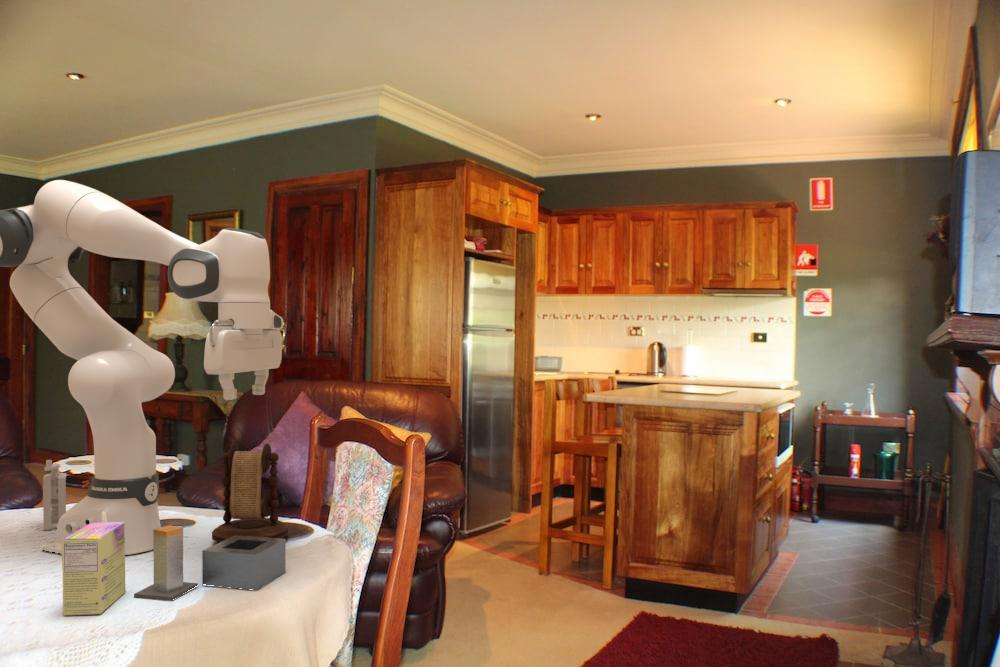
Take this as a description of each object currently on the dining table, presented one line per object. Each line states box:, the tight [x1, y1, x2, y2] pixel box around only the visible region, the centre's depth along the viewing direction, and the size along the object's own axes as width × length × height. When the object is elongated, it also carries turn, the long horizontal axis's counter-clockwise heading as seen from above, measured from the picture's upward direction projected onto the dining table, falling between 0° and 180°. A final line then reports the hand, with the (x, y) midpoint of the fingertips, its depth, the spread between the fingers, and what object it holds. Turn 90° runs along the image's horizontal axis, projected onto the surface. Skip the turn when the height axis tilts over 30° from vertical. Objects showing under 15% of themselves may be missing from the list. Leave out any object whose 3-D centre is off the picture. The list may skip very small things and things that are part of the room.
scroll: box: [211, 442, 289, 544], centre depth 163 cm, size 15×15×20 cm
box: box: [61, 522, 126, 617], centre depth 127 cm, size 10×6×12 cm, turn 5°
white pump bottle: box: [42, 459, 67, 531], centre depth 176 cm, size 4×10×15 cm, turn 25°
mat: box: [133, 581, 199, 601], centre depth 133 cm, size 7×7×1 cm
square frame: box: [201, 535, 286, 591], centre depth 140 cm, size 10×10×6 cm
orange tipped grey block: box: [152, 524, 184, 593], centre depth 133 cm, size 3×3×10 cm
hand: (244, 397), depth 144 cm, fingers open, 8 cm apart
